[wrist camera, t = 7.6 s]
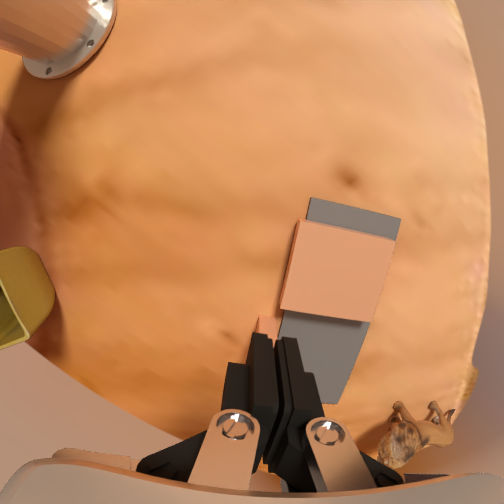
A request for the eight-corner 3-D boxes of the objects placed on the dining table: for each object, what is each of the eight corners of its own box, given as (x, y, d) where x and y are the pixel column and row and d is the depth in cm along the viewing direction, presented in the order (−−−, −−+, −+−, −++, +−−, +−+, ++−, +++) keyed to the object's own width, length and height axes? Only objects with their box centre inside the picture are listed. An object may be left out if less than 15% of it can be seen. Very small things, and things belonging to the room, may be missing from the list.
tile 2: (300, 221, 26) (396, 241, 26) (297, 217, 28) (388, 237, 28) (280, 308, 28) (371, 322, 28) (279, 300, 30) (365, 314, 30)
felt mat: (310, 197, 27) (311, 197, 27) (399, 218, 28) (401, 219, 27) (262, 394, 33) (262, 396, 33) (336, 401, 33) (337, 404, 33)
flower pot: (75, 302, 31) (30, 339, 22) (32, 320, 32) (-10, 354, 23) (42, 230, 29) (-12, 251, 20) (2, 258, 30) (-46, 280, 21)
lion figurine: (359, 429, 35) (376, 480, 26) (372, 400, 33) (393, 452, 25) (446, 419, 35) (470, 459, 26) (460, 392, 33) (489, 431, 25)
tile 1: (259, 314, 31) (259, 368, 22) (276, 317, 31) (282, 371, 22) (245, 377, 33) (240, 437, 24) (260, 380, 33) (260, 439, 24)
